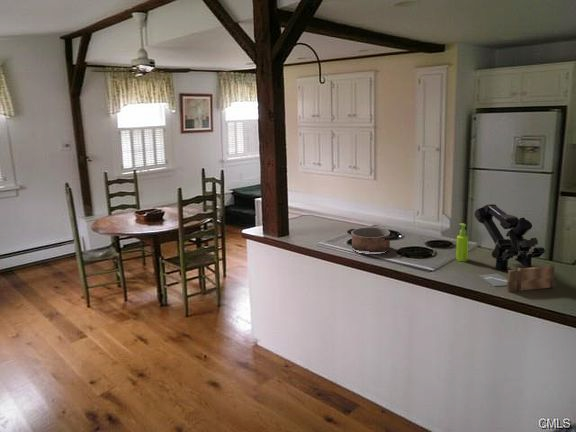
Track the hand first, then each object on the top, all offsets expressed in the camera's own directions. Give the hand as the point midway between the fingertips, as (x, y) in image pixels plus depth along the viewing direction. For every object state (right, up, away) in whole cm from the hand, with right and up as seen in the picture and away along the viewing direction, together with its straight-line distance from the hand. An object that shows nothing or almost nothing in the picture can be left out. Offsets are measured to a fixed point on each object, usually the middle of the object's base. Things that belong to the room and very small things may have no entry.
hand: (530, 269), depth 210 cm
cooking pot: (-62, +5, +63) cm, 89 cm away
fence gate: (+2, -8, -3) cm, 9 cm away
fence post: (-9, -9, -4) cm, 13 cm away
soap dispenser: (-17, +1, +40) cm, 43 cm away
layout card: (-12, -6, +9) cm, 16 cm away
